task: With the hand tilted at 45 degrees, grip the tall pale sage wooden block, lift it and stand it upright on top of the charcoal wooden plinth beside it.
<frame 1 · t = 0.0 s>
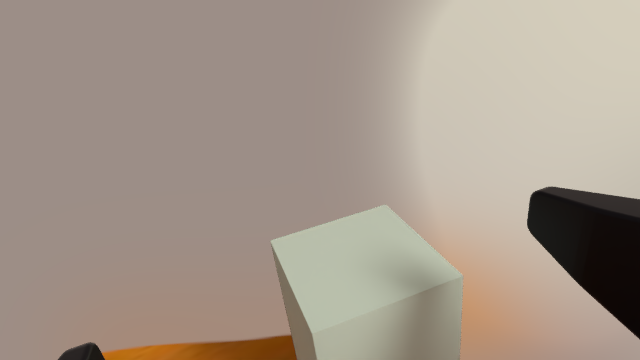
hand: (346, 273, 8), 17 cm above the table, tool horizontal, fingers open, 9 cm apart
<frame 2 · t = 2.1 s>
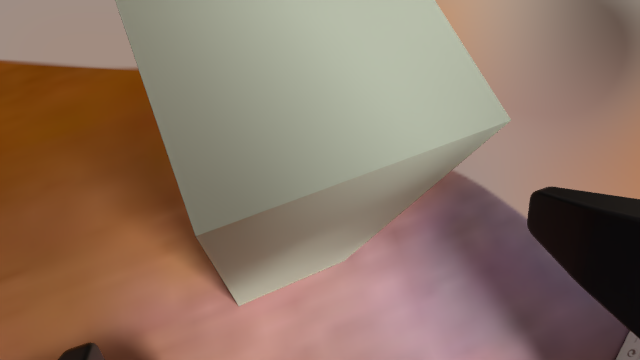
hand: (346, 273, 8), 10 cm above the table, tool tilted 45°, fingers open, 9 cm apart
sage block: (272, 231, 18), on the table
when the fingers open (11 cm above the table, at t = 8.2 s): sage block drops 1 cm, resting on plinth.
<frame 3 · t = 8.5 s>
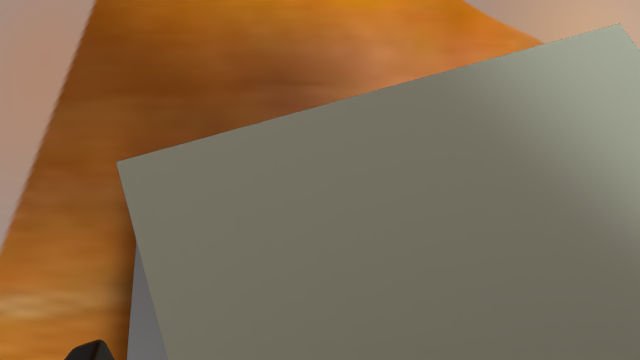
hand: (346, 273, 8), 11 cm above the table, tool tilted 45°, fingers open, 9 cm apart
sage block: (314, 338, 15), point 3 cm above the table, touching plinth
plinth: (304, 337, 18), on the table
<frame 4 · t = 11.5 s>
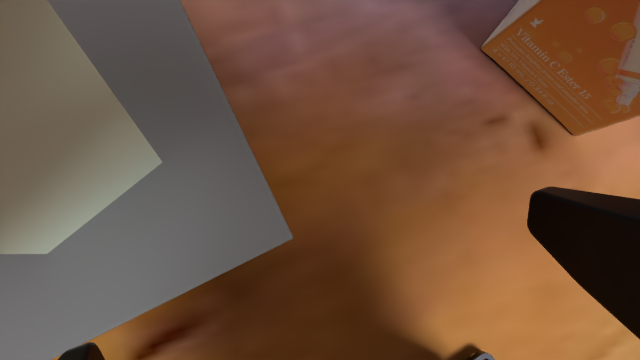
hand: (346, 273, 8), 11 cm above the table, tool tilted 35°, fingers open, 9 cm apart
sage block: (60, 156, 15), point 3 cm above the table, touching plinth
small box: (547, 63, 25), on the table
plinth: (86, 172, 18), on the table
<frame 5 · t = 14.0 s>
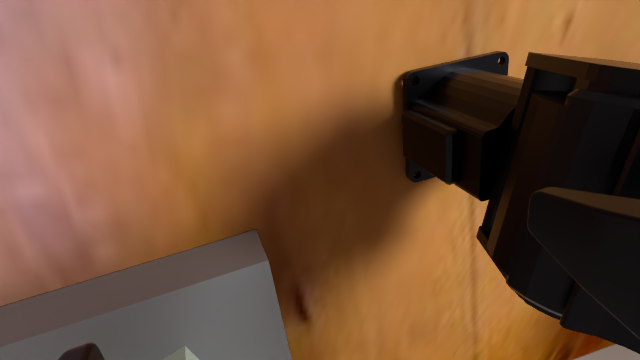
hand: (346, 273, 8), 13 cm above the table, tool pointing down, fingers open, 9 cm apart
plinth: (169, 355, 23), on the table
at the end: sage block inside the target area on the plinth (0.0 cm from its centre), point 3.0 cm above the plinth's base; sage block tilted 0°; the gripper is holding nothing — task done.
